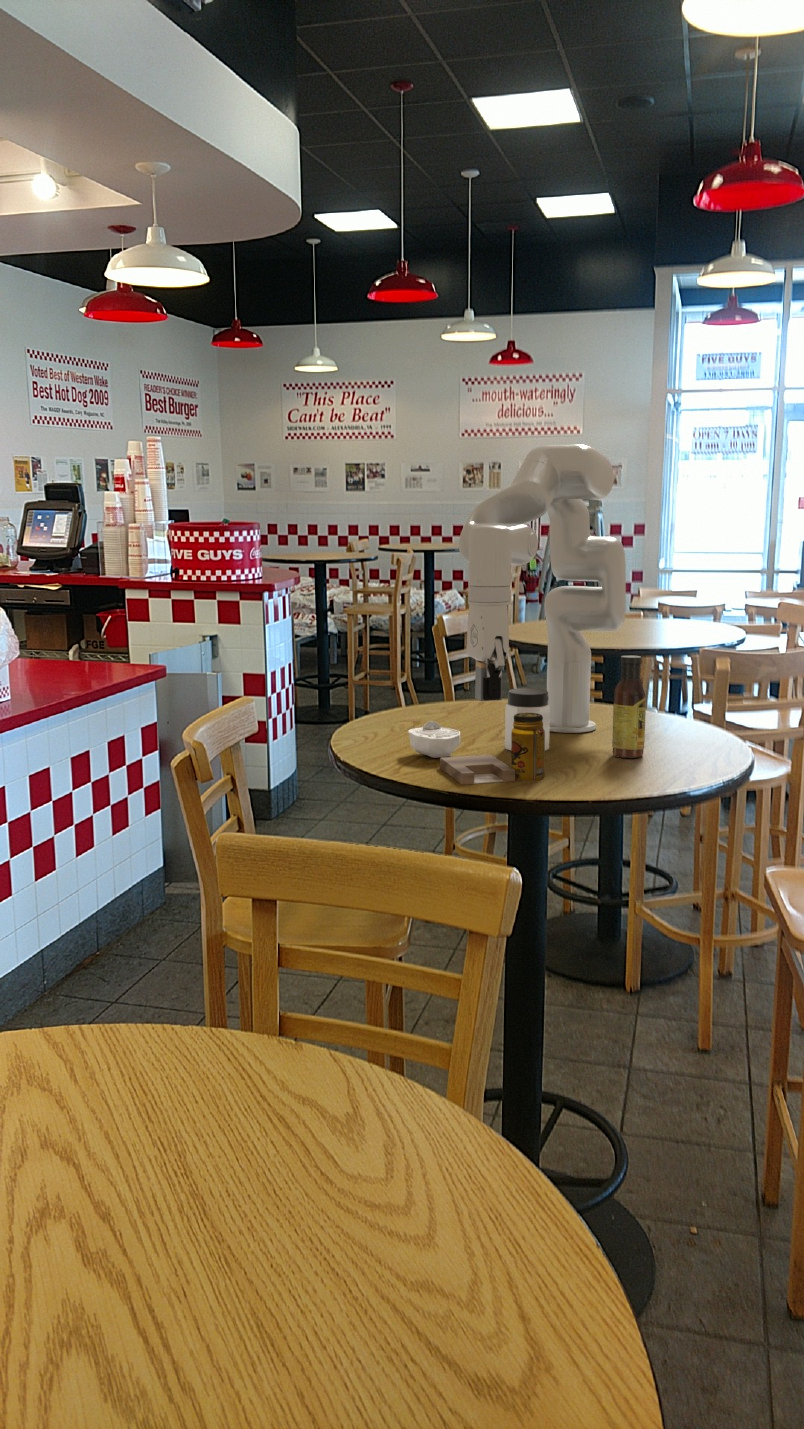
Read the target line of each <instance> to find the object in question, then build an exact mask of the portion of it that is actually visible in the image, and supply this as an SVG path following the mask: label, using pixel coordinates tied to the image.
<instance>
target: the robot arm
mask: <svg viewBox="0 0 804 1429" xmlns="http://www.w3.org/2000/svg"><path fill="white" fill-rule="evenodd" d="M614 474H615V473H614V469H613V465H612V462H610V460H609V458H607V457H606V456H605V455H604V454H603V453H601V452H600V451H598V450H597V449H595V448H594V447H591V446H589V445H585V444H579V443H578V444H548V445H540V446H537V447H535V448H532V449H531V450H530V451H529V452H528V453H527V454H526V456H525V458H524V460H523V462H522V464H521V465H520V467H519V469H518V471H517V473H516V474H515V476H514V478H513V480H512V482H511V484H510V486H509V487H506V488H504V489H502V490H501V491H499V492H496V493H495V494H493V495H492V496H489V497H488V498H486V499H485V500H483V501H482V502H480V503H479V504H478V505H476V506H475V507H474V508H473V510H472V511H471V512H470V514H469V516H468V517H467V519H466V522H464V525H463V527H462V529H461V531H460V536H459V540H458V549H459V554H460V556H461V557H462V559H463V560H464V561H465V562H466V563H468V566H467V567H468V568H467V569H468V572H467V574H468V577H467V578H468V579H467V582H468V591H467V595H468V596H467V600H468V601H467V602H468V603H467V605H469V608H468V616H467V626H466V627H467V628H466V630H467V631H466V646H465V648H466V654H467V656H469V657H470V658H472V659H474V660H475V661H474V662H475V664H476V661H485V678H483V699H484V700H495V701H500V700H499V699H500V698H501V677H502V678H503V668H504V667H505V665H506V663H505V660H507V658H508V657H509V650H510V647H509V646H510V644H509V643H510V636H509V634H510V633H509V626H510V625H509V612H508V609H509V608H508V606H509V605H511V597H512V596H511V593H512V592H511V591H512V590H511V588H512V587H511V586H512V583H511V582H512V581H511V580H512V577H511V576H512V566H524V565H527V564H528V563H530V562H531V561H532V560H533V559H534V558H535V557H536V556H537V552H538V549H539V540H538V536H537V535H538V534H536V532H535V530H534V529H533V528H532V527H531V526H529V525H527V523H529V522H532V521H535V520H537V519H540V518H541V517H543V516H544V515H545V514H546V513H547V515H548V520H549V547H550V548H549V549H550V550H549V552H550V555H549V556H550V567H551V568H550V569H551V573H552V574H553V576H554V577H555V578H557V579H559V580H562V581H571V582H572V581H573V582H598V583H599V584H600V586H587V585H585V586H583V585H582V586H580V585H563V586H558V587H554V588H552V589H551V590H550V591H549V592H548V593H547V594H546V596H545V600H544V616H545V622H546V630H547V662H546V663H547V669H546V691H548V704H550V728H549V732H554V733H565V734H569V733H570V734H575V733H576V734H578V733H588V732H592V731H594V730H596V729H597V728H596V727H597V723H596V722H595V721H592V720H591V719H590V707H591V705H590V700H591V671H592V669H591V667H592V651H591V645H590V644H589V642H588V640H587V639H586V637H585V635H584V634H583V633H582V632H585V631H590V632H615V631H618V630H619V629H621V628H622V626H623V625H624V622H625V619H626V609H627V608H626V606H627V605H626V603H627V602H626V600H627V599H626V597H627V595H626V592H627V591H626V590H627V589H626V588H627V587H626V585H627V584H626V582H627V580H626V579H627V578H626V575H627V574H626V573H627V570H626V567H627V564H626V552H625V549H624V546H623V543H622V542H621V541H620V540H619V539H617V538H615V537H612V536H592V535H591V530H590V528H591V525H590V524H591V523H590V519H591V518H590V512H589V509H588V507H587V505H586V503H585V502H584V500H601V499H604V498H606V497H607V496H609V494H610V493H611V491H612V489H613V486H614V481H615V480H614V479H615V475H614ZM493 658H494V659H493ZM490 664H492V665H491V667H490Z"/></svg>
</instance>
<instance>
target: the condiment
mask: <svg viewBox="0 0 804 1429" xmlns="http://www.w3.org/2000/svg"><path fill="white" fill-rule="evenodd" d="M542 720H543V717H542V715H541V714H538V713H518V714H515V715H514V723H513V726H514V728H513V729H512V734H511V751H510V752H511V755H510V756H511V757H510V759H511V760H510V764H511V765H510V767H511V768H513V769H514V770H515V780H518V781H524V782H525V781H526V782H533V781H534V782H536V781H537V782H538V781H541V780H543V779H544V777H545V766H546V765H545V761H546V759H545V753H546V751H545V730H544V729H543V722H542Z"/></svg>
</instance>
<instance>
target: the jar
mask: <svg viewBox="0 0 804 1429" xmlns="http://www.w3.org/2000/svg"><path fill="white" fill-rule="evenodd" d="M504 709H505V715H504V716H505V717H504V718H505V719H504V721H505V722H504V723H505V724H504V749H505V750H507V751H510V752H511V734H512V729H513V728H514V726H513V723H514V715H515V714H518V713H538V714H541V715H542V717H543V720H542V722H543V729H544V730H545V752H546V751H548V750H550V731H549V728H550V704H548V691H547V689H546V690H545V689H541V688H531V687H529V688H528V687H527V688H526V687H525V688H523V687H522V688H512V689H509V690H508V691H507V703H505V708H504Z"/></svg>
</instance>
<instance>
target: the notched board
mask: <svg viewBox="0 0 804 1429" xmlns="http://www.w3.org/2000/svg"><path fill="white" fill-rule="evenodd" d="M439 759H440V760H439V768H440V769H441V770H442V771H444V773H446V774H447V775H449V776H450V777H451V778H453V779H454V780H455V781H456V782H458V783H459V784H460V785H462V786H463V785H474V784H475V785H476V784H490V783H501V782H502V783H504V782H515V781H516V779H515V770H514V769H513V768H511V765H508V764H506V763H505V762H504V761H502V760H500V759H498V758H497V757H495V756H493V755H492V754H480V755H479V754H477V755H465V756H464V755H461V756H460V755H459V756H447V757H439Z"/></svg>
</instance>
